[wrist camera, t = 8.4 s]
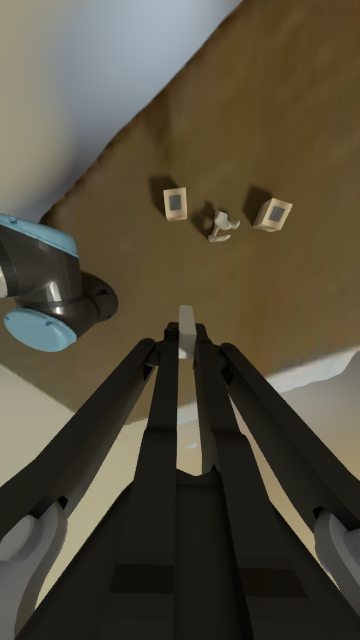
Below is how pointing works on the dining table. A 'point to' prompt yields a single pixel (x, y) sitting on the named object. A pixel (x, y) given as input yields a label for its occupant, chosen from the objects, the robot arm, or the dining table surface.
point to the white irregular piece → (222, 226)
